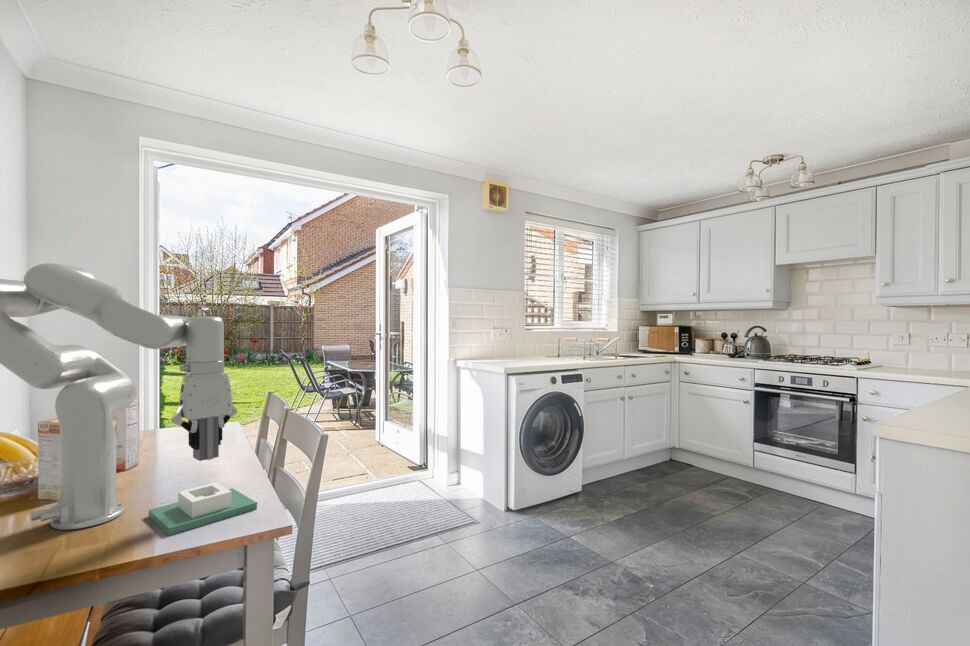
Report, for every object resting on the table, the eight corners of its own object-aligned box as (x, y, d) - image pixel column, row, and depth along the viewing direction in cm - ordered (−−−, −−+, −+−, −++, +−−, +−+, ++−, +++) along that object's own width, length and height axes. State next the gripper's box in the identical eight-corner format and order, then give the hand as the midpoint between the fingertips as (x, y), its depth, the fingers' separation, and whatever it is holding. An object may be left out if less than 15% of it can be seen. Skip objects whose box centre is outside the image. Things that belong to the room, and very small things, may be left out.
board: (169, 535, 96) (169, 528, 96) (148, 516, 105) (148, 509, 105) (256, 508, 110) (256, 502, 110) (232, 493, 119) (232, 488, 119)
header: (192, 518, 101) (192, 502, 101) (177, 506, 107) (178, 491, 107) (231, 506, 108) (231, 491, 108) (216, 496, 113) (216, 482, 113)
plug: (200, 461, 105) (200, 417, 105) (193, 457, 108) (192, 415, 108) (219, 457, 108) (219, 415, 108) (211, 453, 111) (211, 412, 111)
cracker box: (75, 471, 134) (75, 400, 134) (92, 465, 140) (92, 396, 140) (124, 471, 135) (124, 400, 134) (139, 465, 141) (139, 396, 140)
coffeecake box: (93, 478, 129) (94, 409, 128) (116, 480, 128) (117, 410, 128) (35, 499, 114) (36, 421, 114) (61, 501, 113) (61, 422, 113)
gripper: (170, 373, 99) (170, 458, 100) (249, 367, 112) (249, 441, 113) (158, 370, 104) (158, 451, 104) (235, 364, 117) (235, 436, 117)
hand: (205, 445), depth 108 cm, fingers closed on plug, 4 cm apart
